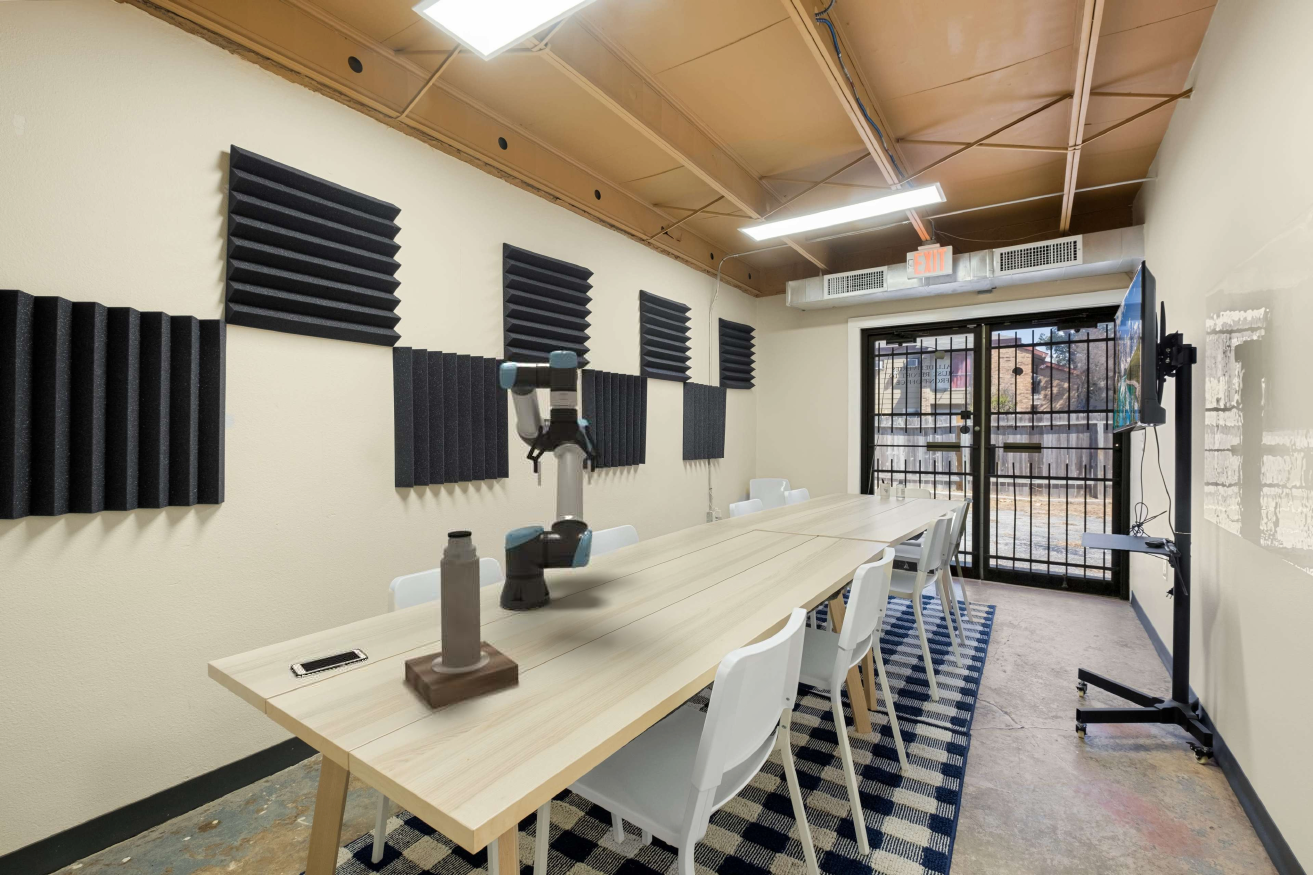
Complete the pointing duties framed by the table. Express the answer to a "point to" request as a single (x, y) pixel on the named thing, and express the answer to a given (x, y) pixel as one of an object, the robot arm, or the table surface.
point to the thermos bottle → (460, 602)
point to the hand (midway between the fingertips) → (564, 484)
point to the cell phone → (328, 662)
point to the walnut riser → (460, 676)
